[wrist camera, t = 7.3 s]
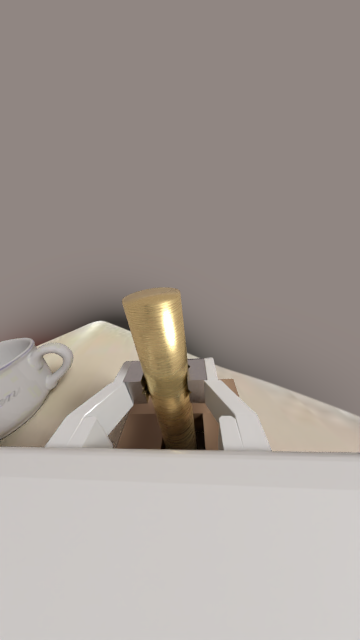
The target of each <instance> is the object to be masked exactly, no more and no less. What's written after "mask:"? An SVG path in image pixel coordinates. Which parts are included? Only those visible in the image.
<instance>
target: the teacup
mask: <svg viewBox="0 0 360 640" xmlns="http://www.w3.org/2000/svg"><path fill="white" fill-rule="evenodd" d="M47 353H55V354H58V355H60V356H61V357H62V358H63V364H62V366H61V367H60V368H59V369H58V370H57V371H56V372H54V373H53V374H52V372H51V370H50V368H49V366H48V365H47V363H46V361H45V360H44V358H43V356H44V355H45V354H47ZM72 362H73V354H72V351H71V350H70V349H69V348H68V347H67V346H65V345H63V344H60V343H48V344H45V345H42V346H41V347H39V348H38V349H37V348H36V346H35V343H34V341H33V340H32V339H30V338H18V339H12V340H7V341H2V342H0V439H2V438H4V437H5V436H7V435H9V434H10V433H12V432H13V431H15V430H16V429H17V428H19V427H20V426H21V425H23V424H24V423H25V422H26V421H28V420H29V419H30V418H31V417H32V416H33V415H34V414H35V413H36V412H37V410H38V409H39V408H40V407H41V405H42V404H43V402H44V400H45V398H46V397H47V395H48V393H49V391H50V390H51V389H53V388H54V387H56V385H57V384H58V380H59V379H60V378H61V377H62V376H63V375H64V374H65V373H66V372H67V371H68V370H69V368H70V367H71V365H72Z"/></svg>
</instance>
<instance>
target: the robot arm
mask: <svg viewBox="0 0 360 640" xmlns="http://www.w3.org/2000/svg"><path fill="white" fill-rule="evenodd" d="M187 381H188V389H189V399H190V403H205V404H206V406H207V407H208V409H209V410H210V412H211V413H212V415H213V416H214V418H215V419H216V421H217V422H218V424H219V435H218V450H175V449H117V448H113V444H112V442H111V440H110V439H109V437H108V435H109V433H110V432H111V431H112V430H113V429H114V428H115V426H116V425H117V424H118V423H119V422H120V420H121V419H122V418H123V417H124V416H125V415H126V413H127V412H128V411H129V410H130V409H131V407H132V406H133V404H148V400H149V397H150V393H149V390H148V387H147V383H146V380H145V377H144V373H143V370H142V367H141V363H140V361H126V362H124V364H123V365H122V367H121V369H120V371H119V373H118V374H117V376H116V378H115V380H114V382H113V383H110V384H108V385H107V386H106V387H104V388H103V389H102V390H100V391H99V392H98V393H96V394H95V395H94V396H92V397H91V398H90V399H88V400H87V401H86V402H84V403H83V404H82V405H80V406H79V407H78V408H76V409H75V410H74V411H72V412H71V413H70V414H68V415H67V416H66V418H65V419H64V420H63V422H62V423H61V425H60V426H59V427H58V429H57V430H56V432H55V433H54V434H53V436H52V437H51V439H50V440H49V441H48V443H47V444H46V446H45V447H0V640H360V453H351V452H290V451H272V450H271V447H270V445H269V442H268V440H267V437H266V435H265V433H264V430H263V428H262V425H261V423H260V420H259V418H258V415H257V414H256V413H255V412H254V411H253V410H252V409H251V408H250V407H249V406H247V405H246V404H245V403H244V402H243V401H242V400H241V399H240V398H239V397H238V396H237V395H236V394H235V393H234V392H233V391H232V390H231V389H230V388H229V387H228V386H227V385H225V384H224V383H223V382H222V381H221V380H218V378H217V374H216V369H215V365H214V361H213V358H199V359H188V370H187Z"/></svg>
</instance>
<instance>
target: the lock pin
mask: <svg viewBox="0 0 360 640" xmlns="http://www.w3.org/2000/svg"><path fill="white" fill-rule="evenodd" d="M122 304H123V306H124V310H125V314H126V317H127V320H128V323H129V327H130V330H131V333H132V337H133V340H134V343H135V347H136V350H137V353H138V357H139V360H140V363H141V367H142V370H143V373H144V377H145V380H146V383H147V387H148V390H149V393H150V397H151V400H152V403H153V407H154V410H155V413H156V416H157V420H158V423H159V426H160V430H161V433H162V436H163V440H164V443H165V446H166V449H175V450H197V446H196V436H195V427H194V417H193V408H192V403H190V399H189V389H188V381H187V370H188V361H187V352H186V342H185V334H184V324H183V315H182V305H181V296H180V291H179V290H178V289H175V288H152V289H146V290H142V291H138V292H135V293H132V294H130V295H128V296H126V297H125V298H123V300H122Z"/></svg>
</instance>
